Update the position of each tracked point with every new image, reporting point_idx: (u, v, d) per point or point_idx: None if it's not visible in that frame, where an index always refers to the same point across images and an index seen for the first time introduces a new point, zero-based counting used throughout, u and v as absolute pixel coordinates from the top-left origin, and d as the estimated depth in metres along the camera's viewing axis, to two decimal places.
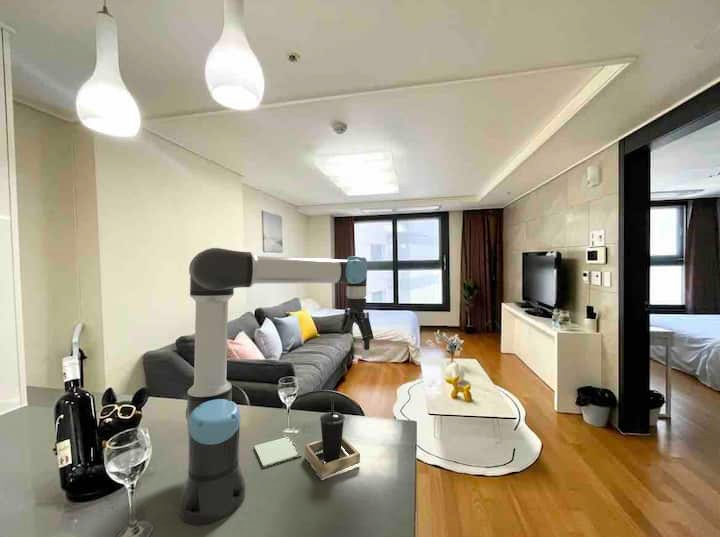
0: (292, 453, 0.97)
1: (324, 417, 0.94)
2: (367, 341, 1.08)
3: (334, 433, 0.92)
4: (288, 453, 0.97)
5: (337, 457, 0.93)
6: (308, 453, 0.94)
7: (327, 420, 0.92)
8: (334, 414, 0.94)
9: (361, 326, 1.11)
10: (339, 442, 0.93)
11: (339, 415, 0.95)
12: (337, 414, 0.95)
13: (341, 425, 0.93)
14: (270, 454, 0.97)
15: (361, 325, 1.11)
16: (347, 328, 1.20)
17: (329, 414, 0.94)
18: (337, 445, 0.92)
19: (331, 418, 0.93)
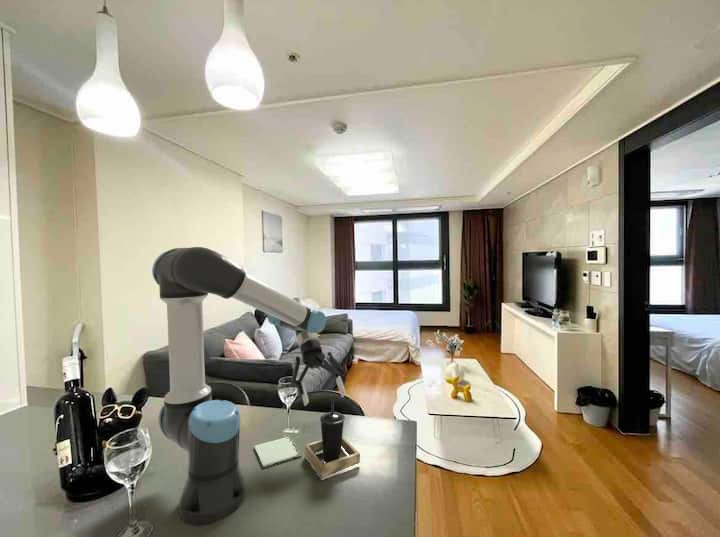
0: (292, 453, 0.97)
1: (324, 417, 0.94)
2: None
3: (334, 433, 0.92)
4: (288, 453, 0.97)
5: (337, 457, 0.93)
6: (308, 453, 0.94)
7: (327, 420, 0.92)
8: (334, 414, 0.94)
9: None
10: (339, 442, 0.93)
11: (339, 415, 0.95)
12: (337, 414, 0.95)
13: (341, 425, 0.93)
14: (270, 454, 0.97)
15: None
16: (303, 377, 1.04)
17: (329, 414, 0.94)
18: (337, 445, 0.92)
19: (331, 418, 0.93)
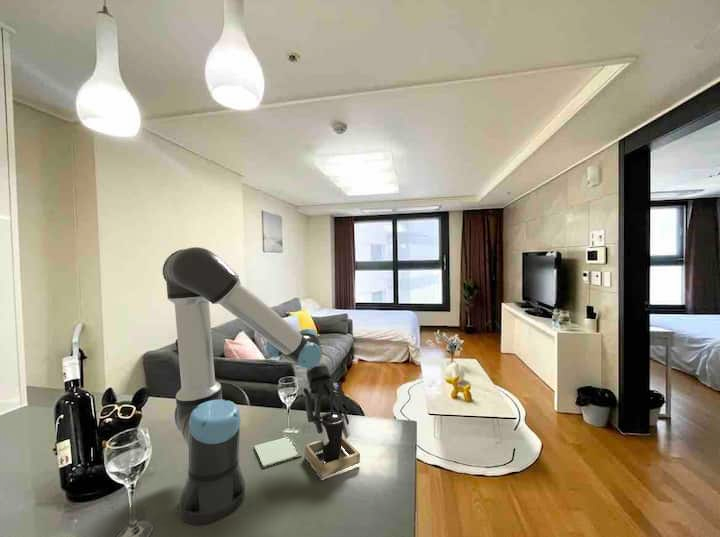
0: (292, 453, 0.97)
1: (323, 417, 0.93)
2: None
3: (334, 433, 0.91)
4: (288, 453, 0.97)
5: (337, 457, 0.93)
6: (308, 453, 0.94)
7: (326, 420, 0.92)
8: (333, 414, 0.94)
9: None
10: (339, 442, 0.93)
11: (338, 415, 0.94)
12: (336, 414, 0.95)
13: (341, 425, 0.93)
14: (270, 454, 0.97)
15: None
16: None
17: (328, 414, 0.94)
18: (337, 445, 0.92)
19: (330, 418, 0.92)
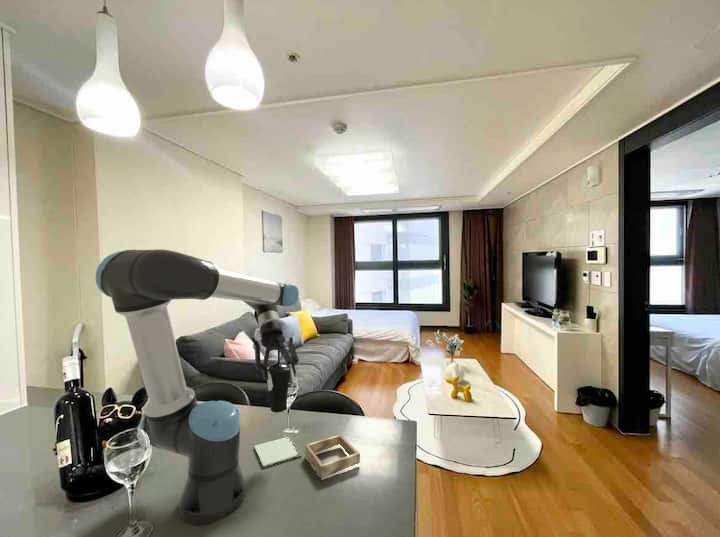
0: (292, 453, 0.97)
1: (270, 366, 0.98)
2: None
3: (279, 380, 0.96)
4: (288, 453, 0.97)
5: (282, 403, 0.98)
6: (308, 453, 0.94)
7: (272, 368, 0.97)
8: (280, 363, 0.99)
9: None
10: (284, 389, 0.98)
11: (285, 364, 0.99)
12: (283, 364, 0.99)
13: (286, 373, 0.98)
14: (270, 454, 0.97)
15: None
16: (267, 360, 1.00)
17: (275, 363, 0.99)
18: (282, 392, 0.97)
19: (276, 366, 0.97)
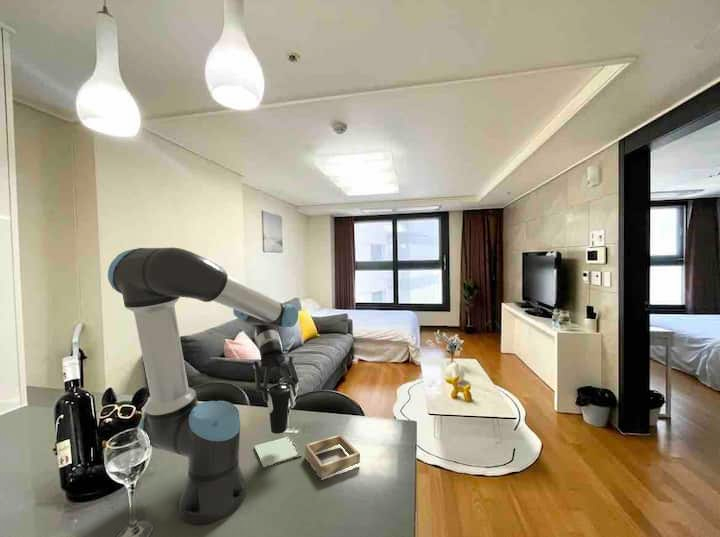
0: (292, 453, 0.97)
1: (270, 387, 0.99)
2: None
3: (279, 402, 0.97)
4: (288, 453, 0.97)
5: (283, 424, 0.98)
6: (308, 453, 0.94)
7: (272, 390, 0.97)
8: (280, 385, 1.00)
9: None
10: (284, 410, 0.98)
11: (285, 386, 1.00)
12: (283, 385, 1.00)
13: (286, 395, 0.98)
14: (270, 454, 0.97)
15: None
16: (267, 381, 1.01)
17: (275, 385, 1.00)
18: (282, 413, 0.98)
19: (276, 388, 0.98)
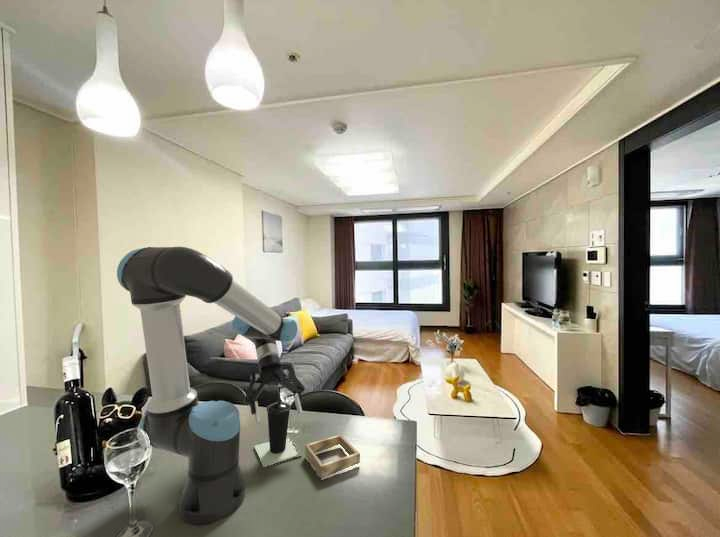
0: (292, 453, 0.97)
1: (270, 406, 0.99)
2: None
3: (279, 421, 0.97)
4: (288, 453, 0.97)
5: (282, 444, 0.98)
6: (308, 453, 0.94)
7: (272, 409, 0.97)
8: (280, 404, 0.99)
9: None
10: (284, 430, 0.98)
11: (285, 405, 1.00)
12: (283, 404, 1.00)
13: (286, 414, 0.98)
14: (270, 454, 0.97)
15: None
16: (258, 394, 1.00)
17: (275, 404, 0.99)
18: (281, 433, 0.97)
19: (276, 407, 0.98)
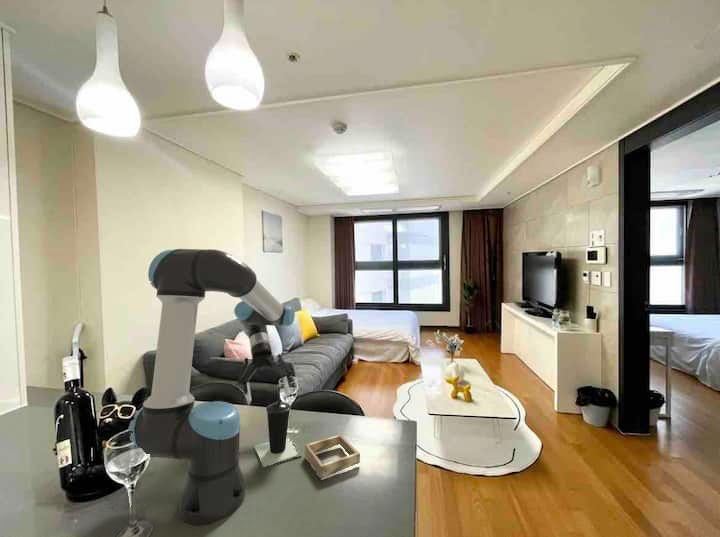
0: (292, 453, 0.97)
1: (270, 406, 0.99)
2: None
3: (278, 421, 0.96)
4: (288, 453, 0.97)
5: (282, 444, 0.98)
6: (308, 453, 0.94)
7: (272, 409, 0.97)
8: (280, 404, 0.99)
9: None
10: (284, 430, 0.98)
11: (285, 405, 0.99)
12: (283, 404, 1.00)
13: (286, 414, 0.98)
14: (270, 454, 0.97)
15: None
16: (250, 377, 1.11)
17: (275, 404, 0.99)
18: (281, 433, 0.97)
19: (276, 407, 0.97)
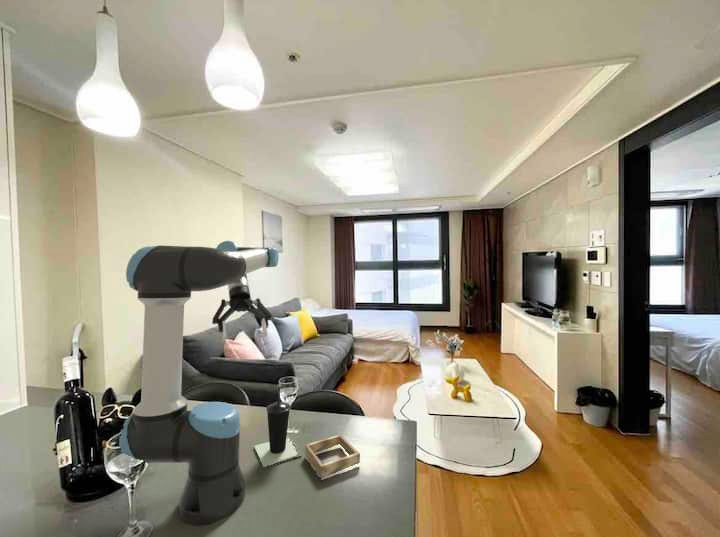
0: (292, 453, 0.97)
1: (270, 406, 0.99)
2: None
3: (279, 421, 0.97)
4: (288, 453, 0.97)
5: (282, 444, 0.98)
6: (308, 453, 0.94)
7: (272, 409, 0.97)
8: (280, 404, 0.99)
9: None
10: (284, 430, 0.98)
11: (285, 405, 1.00)
12: (283, 404, 1.00)
13: (286, 414, 0.98)
14: (270, 454, 0.97)
15: None
16: (226, 316, 1.09)
17: (275, 404, 0.99)
18: (281, 433, 0.97)
19: (276, 407, 0.98)
